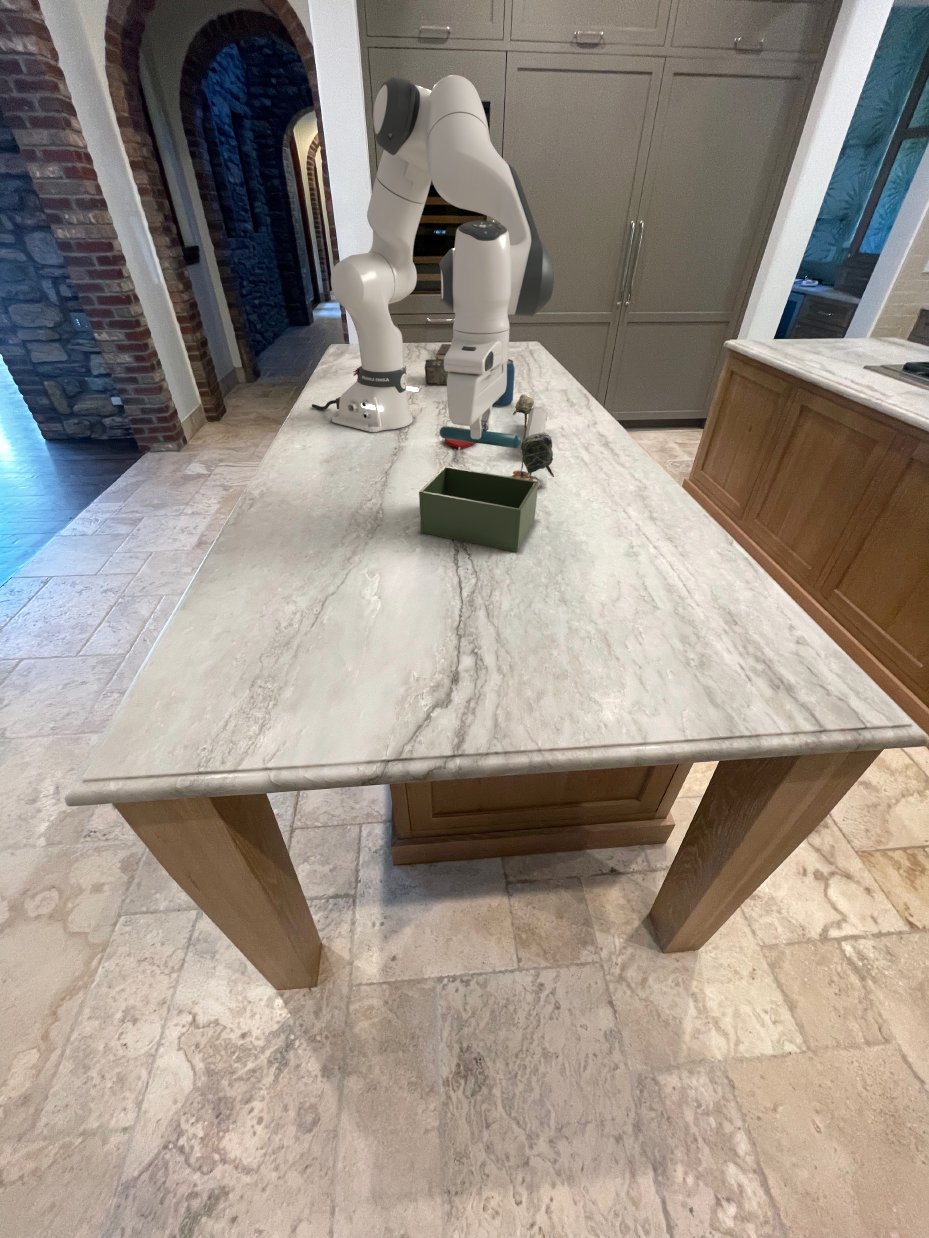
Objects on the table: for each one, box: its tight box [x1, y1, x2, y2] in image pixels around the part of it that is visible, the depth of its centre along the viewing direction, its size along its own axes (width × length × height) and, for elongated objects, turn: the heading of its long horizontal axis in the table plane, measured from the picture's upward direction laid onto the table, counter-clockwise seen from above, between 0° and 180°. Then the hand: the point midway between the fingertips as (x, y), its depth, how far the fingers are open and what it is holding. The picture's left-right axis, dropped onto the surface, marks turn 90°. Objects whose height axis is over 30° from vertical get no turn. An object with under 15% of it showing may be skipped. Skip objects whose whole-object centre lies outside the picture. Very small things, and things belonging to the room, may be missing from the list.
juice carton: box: [424, 358, 449, 386], centre depth 176 cm, size 20×10×6 cm, turn 91°
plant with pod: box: [508, 394, 555, 489], centre depth 112 cm, size 8×11×20 cm
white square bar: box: [526, 405, 548, 438], centre depth 136 cm, size 5×5×25 cm
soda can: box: [492, 358, 516, 408], centre depth 157 cm, size 7×7×12 cm
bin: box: [418, 465, 539, 553], centre depth 102 cm, size 19×12×8 cm, turn 70°
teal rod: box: [439, 425, 523, 449], centre depth 94 cm, size 15×2×2 cm, turn 70°
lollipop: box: [444, 439, 476, 462], centre depth 133 cm, size 8×1×15 cm
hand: (479, 434), depth 94 cm, fingers closed on teal rod, 2 cm apart
